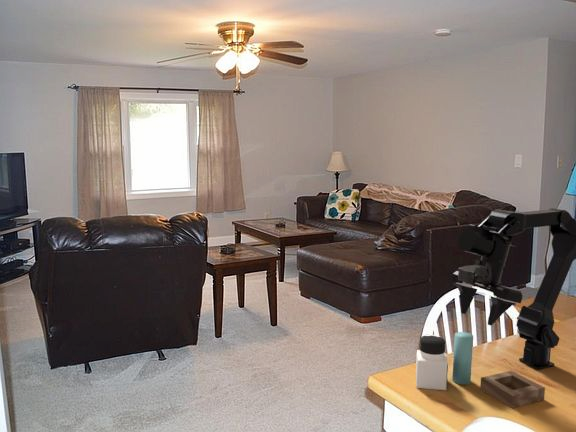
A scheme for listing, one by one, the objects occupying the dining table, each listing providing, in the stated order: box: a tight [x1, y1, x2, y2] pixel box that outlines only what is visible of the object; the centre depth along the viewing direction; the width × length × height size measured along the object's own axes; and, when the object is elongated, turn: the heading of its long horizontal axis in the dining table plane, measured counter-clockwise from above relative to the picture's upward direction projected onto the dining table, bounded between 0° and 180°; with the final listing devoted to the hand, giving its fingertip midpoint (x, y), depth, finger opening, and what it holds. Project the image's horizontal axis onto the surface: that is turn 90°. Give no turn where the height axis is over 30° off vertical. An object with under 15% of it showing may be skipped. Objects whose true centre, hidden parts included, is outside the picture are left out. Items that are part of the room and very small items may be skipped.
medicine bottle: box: [415, 334, 449, 391], centre depth 134 cm, size 7×7×12 cm
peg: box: [451, 331, 474, 386], centre depth 135 cm, size 4×4×12 cm
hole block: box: [479, 370, 546, 409], centre depth 129 cm, size 10×10×3 cm
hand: (475, 319), depth 135 cm, fingers open, 9 cm apart
